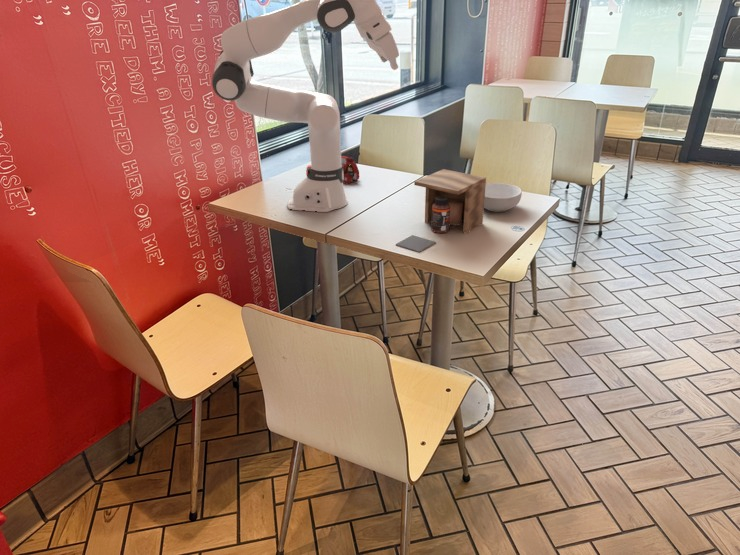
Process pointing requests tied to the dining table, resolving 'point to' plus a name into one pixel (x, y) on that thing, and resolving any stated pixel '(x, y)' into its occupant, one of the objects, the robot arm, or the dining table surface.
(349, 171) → the toy fire truck
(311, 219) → the dining table surface
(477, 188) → the walnut shelf
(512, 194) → the cereal bowl
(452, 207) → the tan round cylinder
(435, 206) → the supplement bottle
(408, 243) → the slate mat
